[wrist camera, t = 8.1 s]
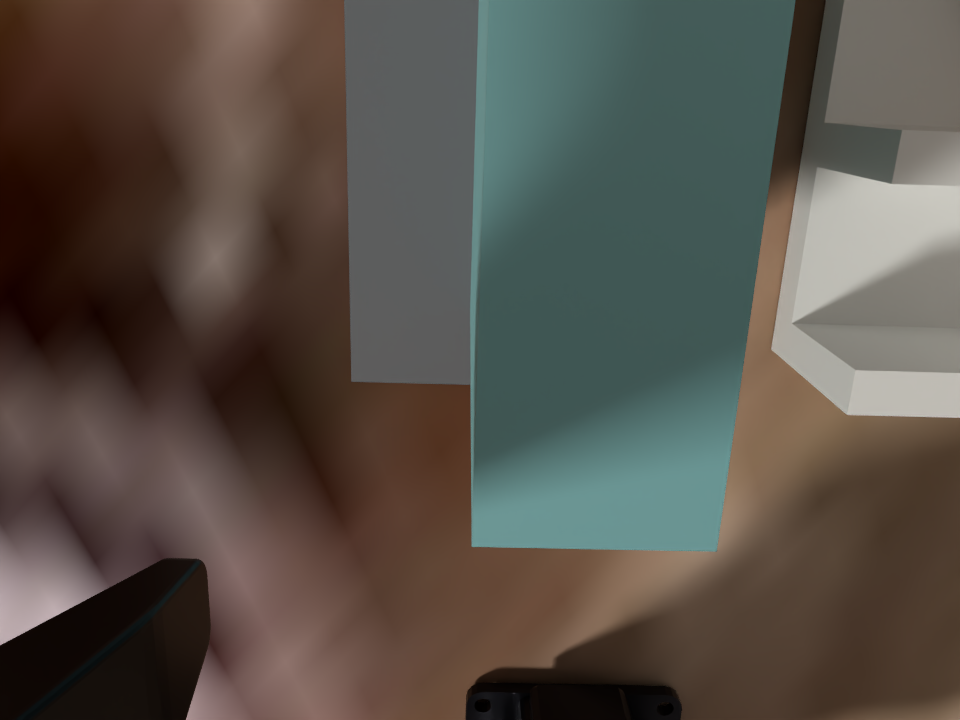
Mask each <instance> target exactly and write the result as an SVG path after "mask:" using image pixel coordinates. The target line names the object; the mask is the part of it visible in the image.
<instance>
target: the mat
mask: <svg viewBox="0 0 960 720" xmlns="http://www.w3.org/2000/svg"><path fill="white" fill-rule="evenodd" d="M344 10H345V63H346V116H347V169H348V222H349V275H350V328H351V381H352V382H386V383H424V384H461V385H471V362H470V297H471V261H472V226H473V190H474V154H475V118H476V82H477V47H478V11H479V0H344Z"/></svg>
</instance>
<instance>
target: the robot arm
mask: <svg viewBox="0 0 960 720" xmlns="http://www.w3.org/2000/svg"><path fill="white" fill-rule="evenodd" d="M210 630H211V622H210V608H209V594H208V579H207V570H206V567H205V564H204V563H203V562H202V561H201V560H199V559H184V558H167V559H163V560H161V561H159V562H157V563H155V564H153V565H151V566H150V567H148V568H146V569H144V570H142V571H140V572H138V573H136V574H134V575H133V576H131V577H129V578H127V579H125V580H123V581H121V582H119V583H117V584H116V585H114V586H112V587H110V588H108V589H106V590H104V591H102V592H100V593H99V594H97V595H95V596H93V597H91V598H89V599H87V600H85V601H83V602H81V603H80V604H78V605H76V606H74V607H72V608H70V609H68V610H66V611H64V612H63V613H61V614H59V615H57V616H55V617H53V618H51V619H49V620H47V621H46V622H44V623H42V624H40V625H38V626H36V627H34V628H32V629H30V630H29V631H27V632H25V633H23V634H21V635H19V636H17V637H15V638H13V639H12V640H10V641H8V642H6V643H4V644H2V645H0V720H186V717H187V714H188V711H189V708H190V704H191V701H192V698H193V695H194V691H195V688H196V685H197V682H198V678H199V675H200V672H201V669H202V665H203V662H204V659H205V656H206V652H207V649H208V645H209V640H210ZM479 699H487V700H489V701H488V702H485V703H480V702H478V701H477V700H479ZM662 702H669V703H668V704H667V705H664V706H659V704H661V703H662ZM681 711H682V707H681V702H680V699H679V696H678V694H677V692H676V691H675V690H674V689H673V688H671V687H667V686H644V685H588V684H532V683H477V684H475V685H473V686H471V688H470V689H469V690H468V692H467V695H466V720H680V718H681Z"/></svg>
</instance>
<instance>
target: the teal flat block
mask: <svg viewBox="0 0 960 720" xmlns="http://www.w3.org/2000/svg"><path fill="white" fill-rule="evenodd" d="M795 1H796V0H479V11H478V47H477V82H476V118H475V154H474V190H473V226H472V261H471V297H470V362H471V504H472V547H512V548H563V549H613V550H664V551H715V552H717V545H718V538H719V531H720V524H721V517H722V510H723V503H724V496H725V489H726V482H727V475H728V468H729V461H730V454H731V447H732V440H733V433H734V426H735V420H736V413H737V406H738V399H739V392H740V385H741V378H742V371H743V364H744V357H745V350H746V343H747V336H748V329H749V322H750V315H751V308H752V301H753V294H754V287H755V280H756V273H757V266H758V259H759V252H760V245H761V238H762V231H763V224H764V217H765V210H766V203H767V196H768V189H769V182H770V175H771V168H772V161H773V154H774V148H775V141H776V134H777V127H778V120H779V113H780V106H781V99H782V92H783V85H784V78H785V71H786V64H787V57H788V50H789V43H790V36H791V29H792V22H793V15H794V8H795Z"/></svg>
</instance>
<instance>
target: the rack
mask: <svg viewBox="0 0 960 720" xmlns="http://www.w3.org/2000/svg"><path fill="white" fill-rule="evenodd" d="M771 350H773V351H774V352H775V353H776V354H777V355H778V356H780V357H781V358H782V359H783V360H784V361H785V362H786V363H788V364H789V365H790V366H791V367H792V368H793V369H795V370H796V371H797V372H798V373H799V374H800V375H802V376H803V377H804V378H805V379H806V380H807V381H808V382H810V383H811V384H812V385H813V386H814V387H815V388H817V389H818V390H819V391H820V392H821V393H822V394H824V395H825V396H826V397H827V398H828V399H829V400H830V401H832V402H833V403H834V404H835V405H836V406H837V407H839V408H840V409H841V410H842V411H843V412H844V413H845V414H847V415H873V416H911V417H950V418H960V0H826V3H825V9H824V16H823V22H822V29H821V35H820V41H819V48H818V54H817V61H816V67H815V73H814V80H813V86H812V92H811V99H810V105H809V112H808V118H807V124H806V131H805V137H804V144H803V150H802V156H801V163H800V169H799V175H798V182H797V188H796V195H795V201H794V207H793V214H792V220H791V227H790V233H789V239H788V246H787V252H786V258H785V265H784V271H783V278H782V284H781V290H780V297H779V303H778V310H777V316H776V322H775V329H774V335H773V341H772V348H771Z"/></svg>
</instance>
